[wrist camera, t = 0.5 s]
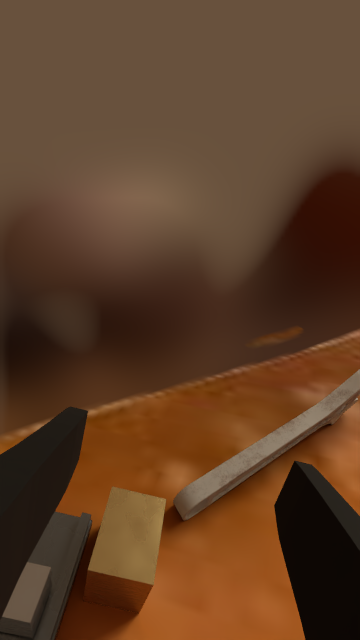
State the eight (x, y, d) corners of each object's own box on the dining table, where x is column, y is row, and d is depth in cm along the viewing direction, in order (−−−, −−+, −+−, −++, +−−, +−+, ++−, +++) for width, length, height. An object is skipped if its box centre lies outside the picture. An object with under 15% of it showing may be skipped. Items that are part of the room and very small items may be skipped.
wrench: (167, 517, 30) (347, 398, 45) (178, 537, 29) (358, 407, 44) (177, 479, 25) (375, 358, 40) (190, 500, 24) (389, 368, 39)
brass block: (138, 613, 22) (153, 584, 19) (82, 601, 22) (87, 569, 19) (152, 534, 26) (166, 499, 23) (105, 523, 26) (112, 486, 23)
